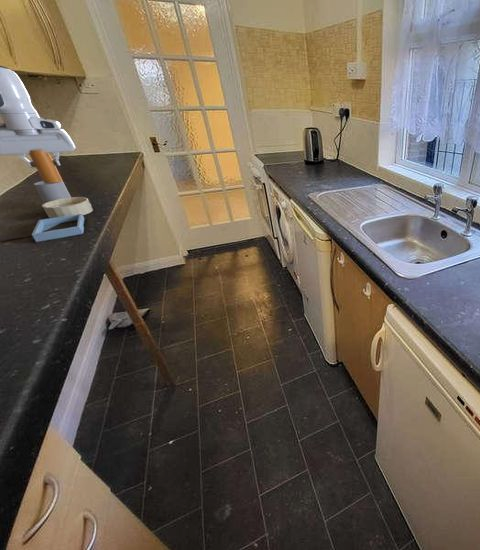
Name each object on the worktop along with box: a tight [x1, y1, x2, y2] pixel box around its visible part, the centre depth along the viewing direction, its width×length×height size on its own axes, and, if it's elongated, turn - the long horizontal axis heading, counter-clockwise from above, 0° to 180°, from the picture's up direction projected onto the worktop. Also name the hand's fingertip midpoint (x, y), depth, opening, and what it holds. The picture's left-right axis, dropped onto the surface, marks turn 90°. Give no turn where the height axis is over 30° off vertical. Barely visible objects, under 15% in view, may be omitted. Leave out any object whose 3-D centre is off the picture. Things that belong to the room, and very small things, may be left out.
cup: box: [33, 180, 72, 204], centre depth 120 cm, size 8×8×10 cm
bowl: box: [41, 196, 94, 219], centre depth 114 cm, size 13×13×5 cm
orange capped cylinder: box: [28, 150, 64, 183], centre depth 104 cm, size 5×5×15 cm
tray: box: [31, 214, 85, 243], centre depth 102 cm, size 12×16×3 cm
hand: (45, 166), depth 106 cm, fingers closed on orange capped cylinder, 5 cm apart
